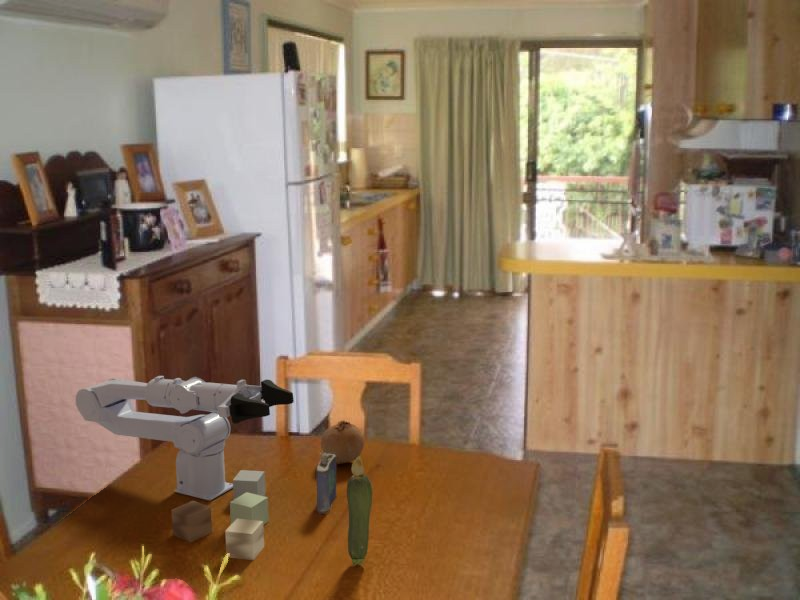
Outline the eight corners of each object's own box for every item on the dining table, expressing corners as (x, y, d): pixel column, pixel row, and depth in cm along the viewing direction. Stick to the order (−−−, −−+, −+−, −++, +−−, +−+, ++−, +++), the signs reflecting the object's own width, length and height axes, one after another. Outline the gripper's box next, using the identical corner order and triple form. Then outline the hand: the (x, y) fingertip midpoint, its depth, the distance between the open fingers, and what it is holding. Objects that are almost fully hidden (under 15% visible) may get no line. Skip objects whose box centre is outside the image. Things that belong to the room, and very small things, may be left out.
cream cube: (226, 557, 155) (225, 531, 154) (238, 544, 160) (237, 518, 159) (253, 560, 154) (252, 534, 153) (264, 547, 159) (263, 521, 158)
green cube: (231, 527, 166) (229, 502, 165) (247, 516, 171) (246, 492, 170) (252, 532, 164) (251, 507, 163) (268, 521, 168) (267, 497, 167)
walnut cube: (173, 535, 163) (171, 509, 162) (194, 525, 167) (193, 500, 166) (190, 542, 160) (188, 517, 159) (212, 532, 164) (210, 507, 163)
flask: (328, 515, 171) (326, 462, 169) (313, 514, 171) (311, 461, 169) (338, 494, 180) (337, 444, 178) (324, 494, 180) (322, 444, 178)
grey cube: (233, 503, 176) (232, 480, 175) (241, 493, 181) (240, 470, 180) (258, 505, 176) (257, 481, 175) (265, 494, 180) (264, 471, 179)
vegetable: (347, 557, 155) (345, 448, 151) (372, 556, 155) (371, 447, 151) (348, 570, 150) (346, 458, 146) (373, 568, 151) (372, 457, 147)
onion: (363, 472, 191) (362, 428, 189) (319, 472, 191) (318, 428, 189) (365, 455, 200) (364, 413, 198) (323, 455, 201) (322, 413, 198)
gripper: (197, 389, 168) (254, 394, 162) (245, 369, 181) (300, 373, 174) (201, 425, 170) (258, 431, 163) (248, 402, 182) (303, 407, 176)
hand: (280, 403), depth 169 cm, fingers open, 7 cm apart
